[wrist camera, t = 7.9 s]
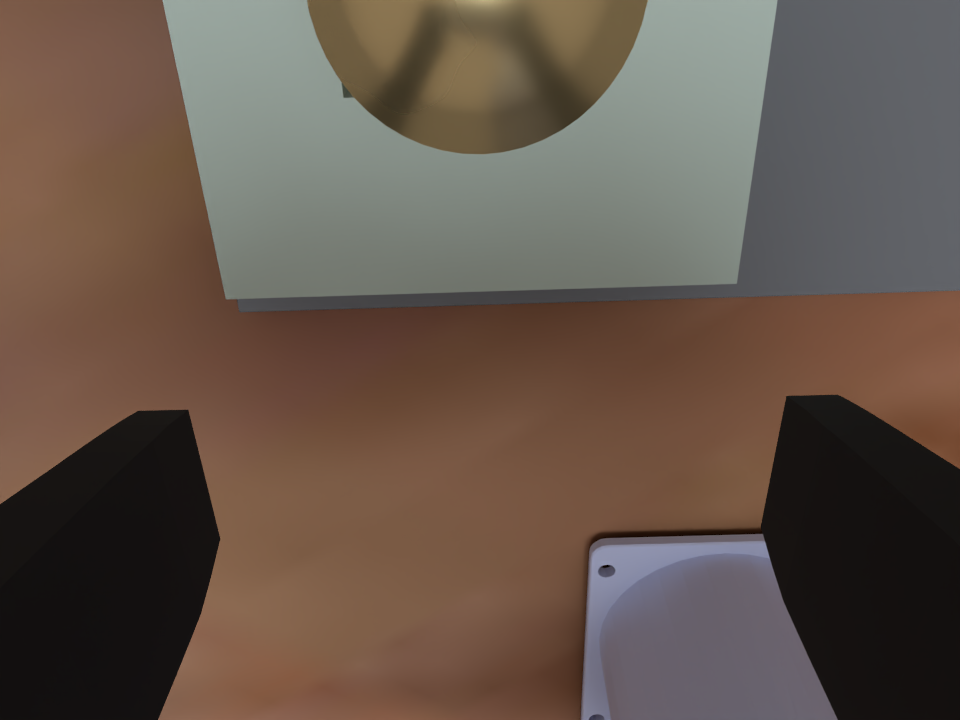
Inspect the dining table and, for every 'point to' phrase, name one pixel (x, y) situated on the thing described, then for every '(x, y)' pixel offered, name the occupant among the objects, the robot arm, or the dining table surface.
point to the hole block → (471, 165)
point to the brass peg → (477, 64)
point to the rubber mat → (820, 166)
